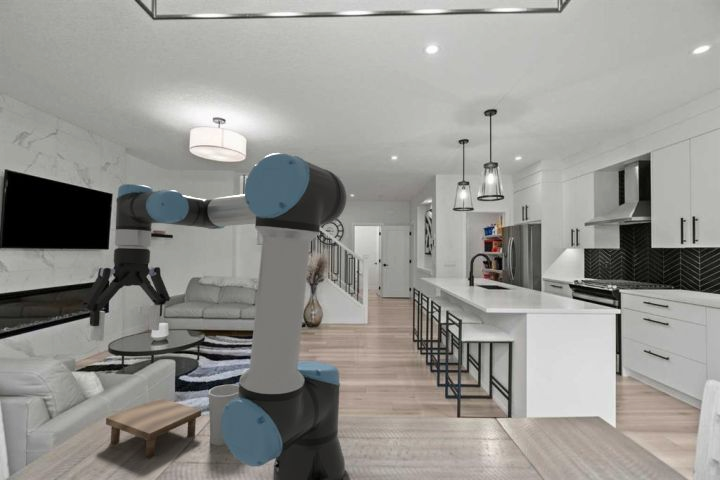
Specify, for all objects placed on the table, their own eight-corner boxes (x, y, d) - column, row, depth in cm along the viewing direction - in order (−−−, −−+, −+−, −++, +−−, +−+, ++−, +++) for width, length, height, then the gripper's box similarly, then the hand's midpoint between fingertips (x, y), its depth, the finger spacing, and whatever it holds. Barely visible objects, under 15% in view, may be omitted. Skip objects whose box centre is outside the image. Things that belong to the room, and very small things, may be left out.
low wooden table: (200, 433, 91) (201, 409, 92) (147, 461, 79) (149, 433, 79) (158, 419, 98) (160, 397, 98) (104, 443, 86) (106, 417, 86)
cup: (228, 449, 85) (231, 397, 85) (199, 444, 86) (201, 394, 87) (245, 433, 92) (247, 386, 93) (218, 429, 94) (220, 383, 95)
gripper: (167, 249, 101) (163, 324, 99) (65, 245, 78) (58, 343, 77) (186, 249, 98) (182, 327, 96) (85, 245, 75) (79, 347, 74)
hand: (127, 334), depth 87 cm, fingers open, 13 cm apart
